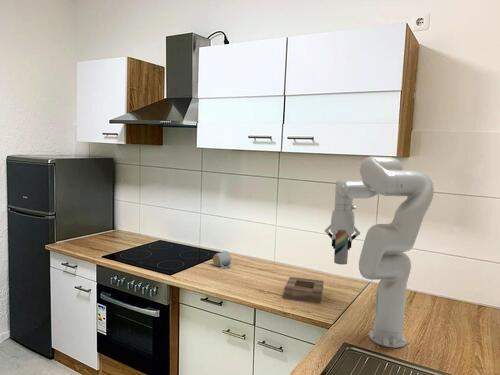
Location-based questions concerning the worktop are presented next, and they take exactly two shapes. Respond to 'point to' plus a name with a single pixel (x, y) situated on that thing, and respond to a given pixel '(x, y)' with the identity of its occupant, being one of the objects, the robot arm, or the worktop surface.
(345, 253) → the lotion bottle
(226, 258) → the ceramic mug
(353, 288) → the worktop surface
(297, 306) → the worktop surface
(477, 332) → the worktop surface
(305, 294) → the holder
